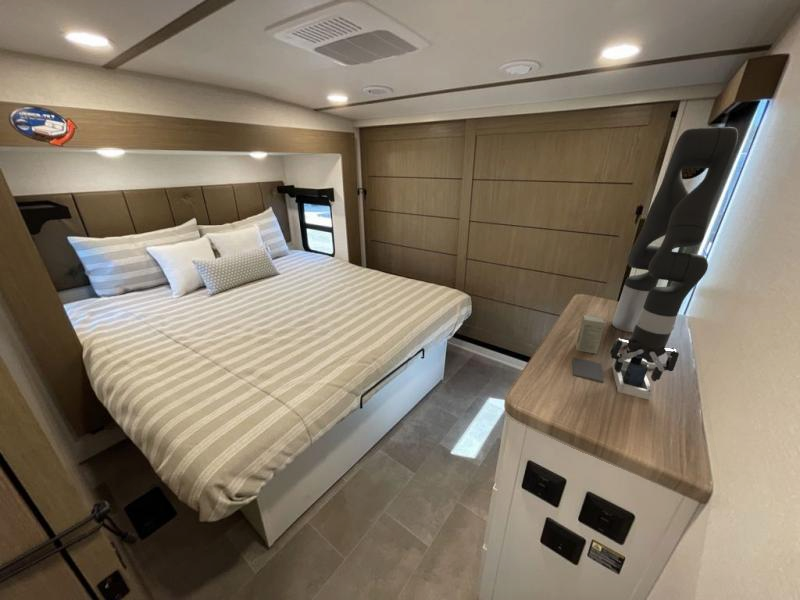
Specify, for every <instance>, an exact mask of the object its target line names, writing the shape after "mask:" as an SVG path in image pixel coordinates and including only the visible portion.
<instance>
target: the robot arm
mask: <svg viewBox="0 0 800 600" xmlns="http://www.w3.org/2000/svg"><path fill="white" fill-rule="evenodd" d="M738 140H739V132H738V129H737V128H736V127H734V126H733V127H732V126H715V127H714V126H713V127H694V128H689V129H686V130H684V131H683V132H682V133H681V134H680V136H679V138H678V139H677V141H676V143H675V146H674V148H673V150H672V151H673V152H672V154H671V156H670V159H669V162H668V165H667V167H666V171H665V174H664V176H663V178H662V182H661V184H660V186H659V188H658V191H657V193H656V195H655V196H654V199H653V201H652V203H651V205H650V207H649V210H648V212H647V213H646V217H645V220H644V223H643V225H642V228H641V230H640V232H639V235H638V236H637V238H636V240H635V242H634V244H633V245H632V248H631V249H630V251H629V253H628V256H627V265H628V267H630V268H632V269H636V270H645V271H646V272H645V273H641V274H637V275H636V274H635V275H630V276H627V278H626V279H625V282H624V285H623V288H622V291H621V295H620V298H619V301H618V305H617V307H616V310H615V313H614V316H613V320H612V323H611V324H612V327H614V328H616V329H617V330H620V331H622V332H623V331H624V332H627V333H632V334H631V337H630V338H631V339H630V340H628V341H626V340H623V338H621V337H620V336H619V337H618V336H617V337H616V338H615V339H614V343H613V346H612V347H611V349H610V351H609V352H610V357H611V359H613V360H614V359H616V362H615V365H614V368H615V370H616V372H617V373H620V371H621V368H622V365H623V361H625V360H627V359H631V358H633V357H634V356H636V355H639V354H640V356H643V359H644V360H648V361H649V360H653V361H654V363H655V364H656V366H655V368H654V369H652V373H651V375H650V378H651V381H652V382H657V381H659V380H660V379H661V376H662V374H663V372H665V371H669V372H673V371H674V369H675V367H676V365H677V361H678V358H679V355H680V353H679V351H678V350H677V349H676V347H671V348H667V347H666V346H667V344H668V341H669V339H670V336H671V334H672V331H673V330H674V328H675V324H676V321H677V316H678V314H679V311H680V309H681V307H682V305H683V302H684V300H685V299H686V297H687V296H688V294H689V293H690V292H691V291H692V289H694V287H695V286H696V285H697V284H698V283H700V281H701V280H702V279H703V277H704V276H705V274H706V273H707V271H708V267H709V262H708V260H707V258H706V257H705V256H703V255H702V254H697V253H687V252H678V251H673V250H674V249H676V248H677V249H678V248H688V247H695V246H698V245H700V244H701V243H703V240H704V238H705V234H706V229H707V226H708V225H707V224H708V221H709V218H710V213H711V209H712V207H713V204H714V201H715V199H716V196H717V194H718V192H719V190H720V187H721V184H722V183H723V180H724V178H725V176H726V172H727V170H728V168H729V165H730V162H731V160H732V157H733V154H734V153H735V150H736V146H737V144H738ZM683 169H708V171H707V174H706V175H705V177H704V178H703V180H702V181H700V182H699V184H698V185H696V187H695V188H693V189H692V190H691V191H690V192H689V191H688V188H687V187H686V185H685V183H684V180H683V174H682V170H683ZM663 237H664V238H663ZM660 238H663V241H662V242H661V244H654V243H653V242H656V240H658V239H660ZM659 280H663V281H669V282H670V281H671V282H676V283H675V284H673V285H669V286H657V285H658V283H659ZM625 345H627V346H628V348H627V349H626V348H625V347H624V346H625ZM621 348H625V349H624V350H623V351H622V352H620V353H619V351H620V350H621ZM630 352H631V353H630ZM618 353H619V354H618ZM664 354H666V356H667V358H666V361H665V363H663V362H662V361H661V360H660V358H659V357H661V356H663V355H664Z"/></svg>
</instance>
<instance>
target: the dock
mask: <svg viewBox="0 0 800 600" xmlns="http://www.w3.org/2000/svg"><path fill="white" fill-rule="evenodd" d="M618 354H620V353H619V352H618ZM630 360H631V359H627V360H625V361H623V365H622V368H621V371H620V373H617V372H616V370H615V368H614V365H615V362H616V359H613V362H612V365H611V366H612V372H613V376H614V380H615V385H616V390H617V391H616V392H617V393H621V394H625V395H629V396H633V397H638V398H641V399H644V400H645V399H646V400H648V401H651V398H652V396H653V393H654V392H653V389H652V387H651V384H650V381H649V379H648V376H647V375H648V374H646V375H645V378H644V380H643V383H642V385H641V386H640V387H635V386H631V385H627V384H624V382H623V378H624V376H625V373H626V370H627V367H628V365H629V363H630ZM642 361H645V362H647V361H646V360H644V359H642ZM647 366H648V365H647Z"/></svg>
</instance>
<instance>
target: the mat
mask: <svg viewBox="0 0 800 600" xmlns="http://www.w3.org/2000/svg"><path fill="white" fill-rule="evenodd" d="M572 370H573V374H572V375H573V376H575V377H579V378H584V379H588V380H590V381H591V380H592V381H596V382H600V383H604V382H605V379H604V374H603V369H602V363H600V362H596V361H593V360H587V359H583V358H579V357H574V356H573V357H572Z"/></svg>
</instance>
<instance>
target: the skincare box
mask: <svg viewBox="0 0 800 600" xmlns="http://www.w3.org/2000/svg"><path fill="white" fill-rule="evenodd" d="M605 324H606V321H605V319H604V317H601V316H596V315H595V316H594V315H590V314H589V315H587V314H582V319H581V323H580V326H579V331H578V335H577V339H576V343H575V347H576V351H580V352H583V353H584V352H585V353H589V354H590V353H591V354H595V355H596V354H597V353H598V350H599V346H600V343H601V338H602V335H603V333H604V328H605Z"/></svg>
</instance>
